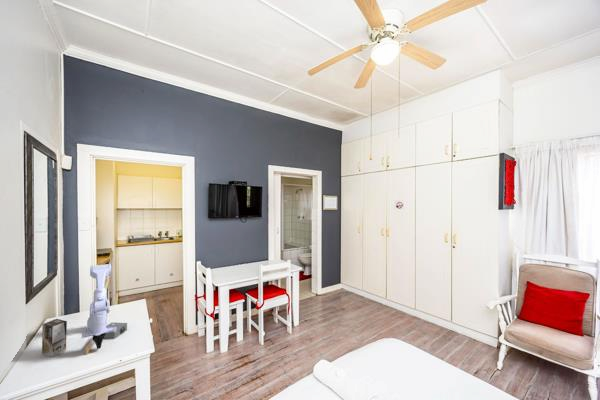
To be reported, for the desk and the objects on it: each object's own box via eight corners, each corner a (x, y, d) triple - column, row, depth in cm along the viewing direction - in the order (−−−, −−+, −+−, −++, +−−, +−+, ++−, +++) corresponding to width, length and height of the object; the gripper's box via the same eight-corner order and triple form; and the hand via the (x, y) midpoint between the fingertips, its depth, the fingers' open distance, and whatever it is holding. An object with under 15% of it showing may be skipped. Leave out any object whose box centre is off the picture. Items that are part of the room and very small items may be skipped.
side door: (96, 338, 144) (96, 331, 144) (98, 337, 144) (98, 331, 144) (85, 354, 129) (85, 346, 129) (88, 353, 129) (88, 346, 129)
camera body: (98, 338, 144) (98, 330, 144) (111, 329, 154) (111, 321, 154) (115, 338, 144) (115, 330, 144) (128, 330, 154) (128, 322, 154)
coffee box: (66, 350, 132) (67, 321, 132) (51, 357, 126) (52, 326, 126) (56, 347, 135) (57, 318, 135) (41, 353, 129) (41, 323, 129)
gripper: (79, 329, 126) (79, 355, 126) (114, 323, 133) (114, 347, 132) (84, 323, 132) (83, 348, 132) (117, 317, 139) (116, 341, 139)
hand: (99, 347), depth 133 cm, fingers closed
